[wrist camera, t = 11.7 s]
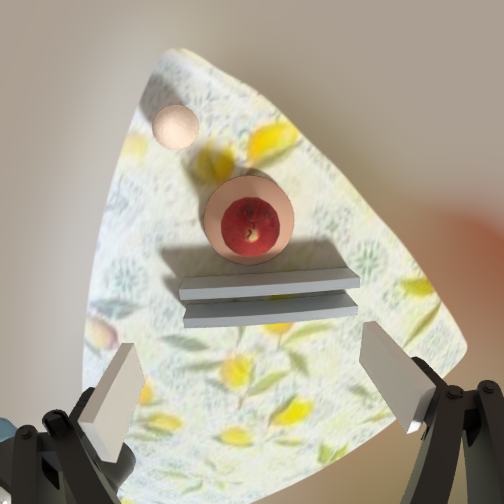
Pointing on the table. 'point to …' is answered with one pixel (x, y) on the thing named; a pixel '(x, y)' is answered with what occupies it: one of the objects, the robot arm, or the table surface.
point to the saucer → (241, 189)
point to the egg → (175, 127)
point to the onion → (250, 227)
